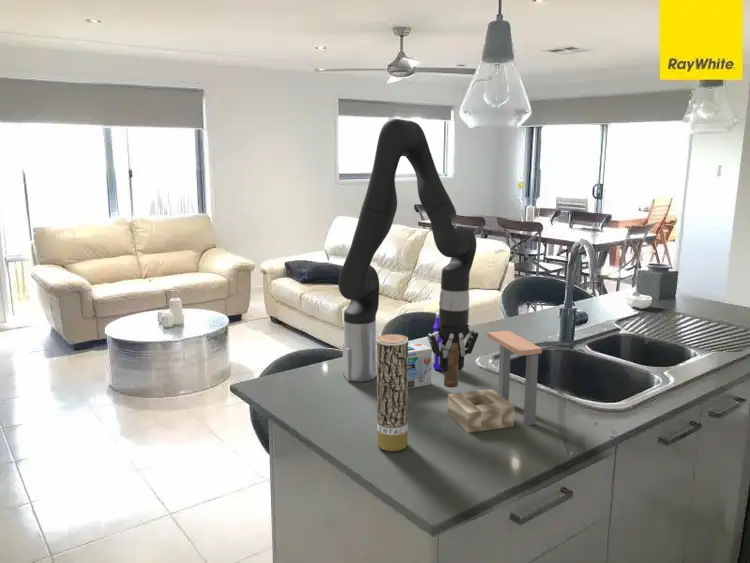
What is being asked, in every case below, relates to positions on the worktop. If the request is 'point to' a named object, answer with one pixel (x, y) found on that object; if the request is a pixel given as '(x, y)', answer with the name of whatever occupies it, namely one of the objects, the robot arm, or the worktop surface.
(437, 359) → the bottle
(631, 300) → the cell model
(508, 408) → the socket
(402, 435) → the paper tube
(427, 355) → the light bulb box
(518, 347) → the wooden top bench
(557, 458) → the worktop surface
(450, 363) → the peg
